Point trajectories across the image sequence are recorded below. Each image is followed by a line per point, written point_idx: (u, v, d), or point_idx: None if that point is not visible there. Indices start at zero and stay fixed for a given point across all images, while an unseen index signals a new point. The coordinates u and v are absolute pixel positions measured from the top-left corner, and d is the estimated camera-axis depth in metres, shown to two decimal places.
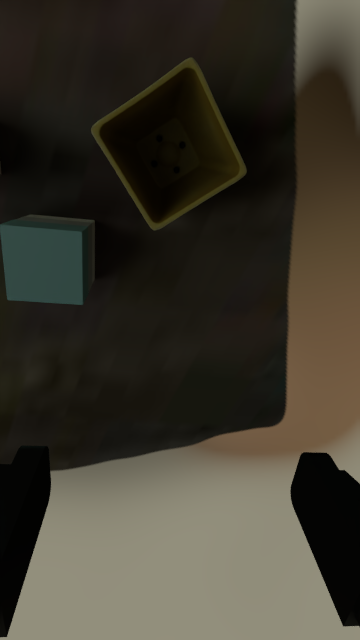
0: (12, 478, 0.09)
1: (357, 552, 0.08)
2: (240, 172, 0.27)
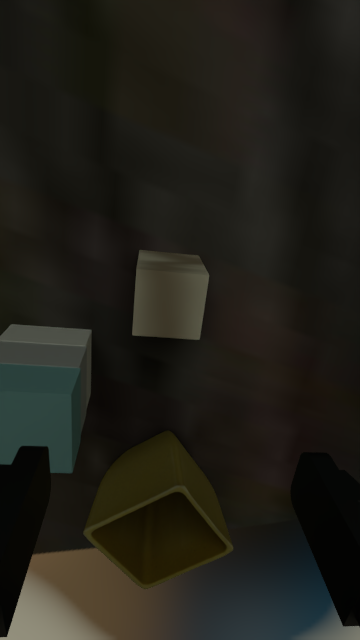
0: (12, 478, 0.09)
1: (358, 552, 0.08)
2: (144, 585, 0.28)
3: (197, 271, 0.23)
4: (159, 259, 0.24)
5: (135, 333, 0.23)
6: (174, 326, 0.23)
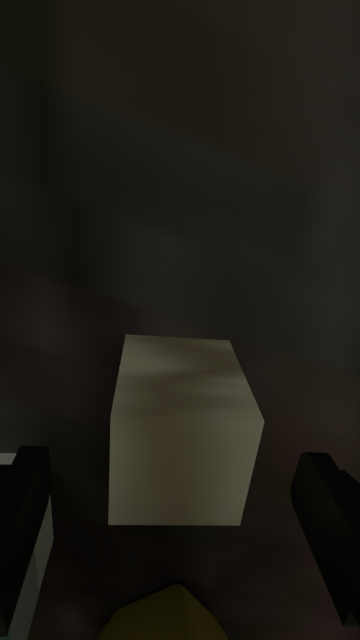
0: (12, 478, 0.09)
1: (358, 552, 0.08)
2: None
3: (237, 404, 0.11)
4: (160, 365, 0.13)
5: (114, 521, 0.12)
6: (190, 507, 0.12)
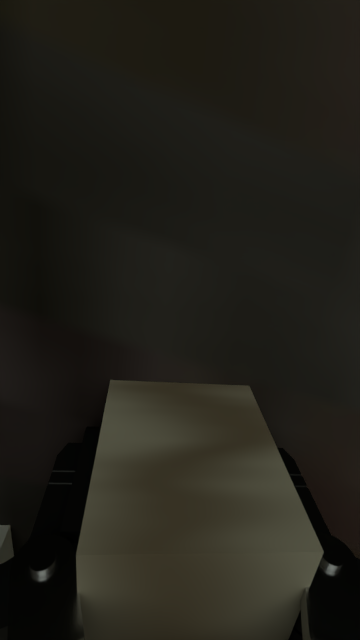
0: (86, 453, 0.10)
1: None
2: None
3: (276, 513, 0.07)
4: (157, 436, 0.09)
5: None
6: None
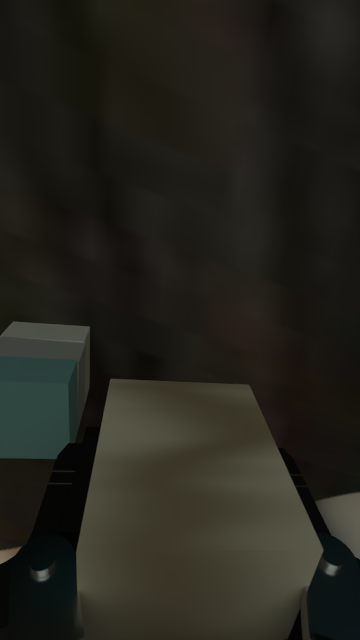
0: (86, 453, 0.10)
1: None
2: None
3: (276, 510, 0.07)
4: (157, 435, 0.09)
5: None
6: None
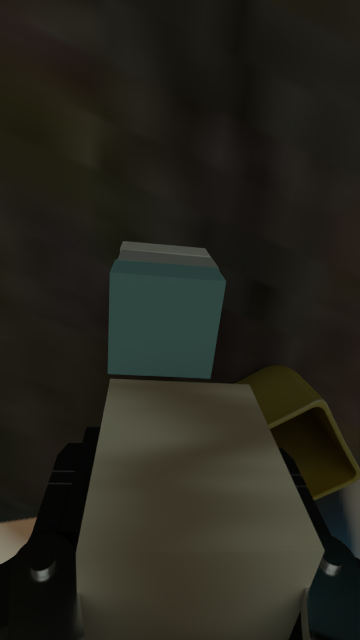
0: (86, 453, 0.10)
1: None
2: None
3: (277, 511, 0.07)
4: (157, 435, 0.09)
5: None
6: None
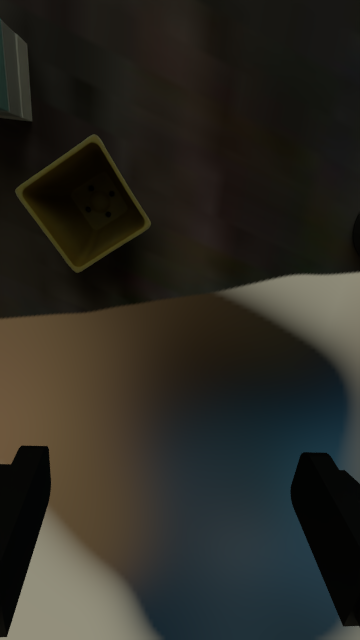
0: (12, 478, 0.09)
1: (357, 552, 0.08)
2: (75, 267, 0.32)
3: None
4: None
5: None
6: None
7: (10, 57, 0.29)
